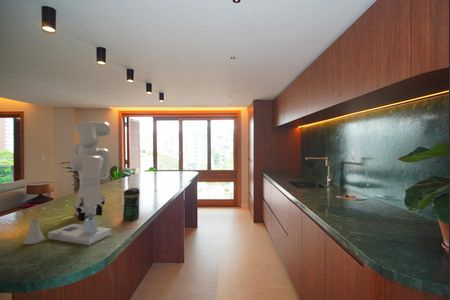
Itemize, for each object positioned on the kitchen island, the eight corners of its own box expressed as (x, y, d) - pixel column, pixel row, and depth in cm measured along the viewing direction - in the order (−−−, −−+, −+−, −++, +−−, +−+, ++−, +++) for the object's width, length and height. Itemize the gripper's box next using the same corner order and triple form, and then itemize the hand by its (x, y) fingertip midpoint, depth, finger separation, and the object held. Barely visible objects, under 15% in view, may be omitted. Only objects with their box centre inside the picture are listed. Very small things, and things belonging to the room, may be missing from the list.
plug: (83, 239, 107) (83, 213, 107) (90, 236, 111) (90, 211, 111) (91, 240, 106) (91, 214, 106) (98, 237, 110) (98, 212, 110)
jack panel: (48, 238, 108) (48, 230, 108) (73, 229, 120) (73, 222, 120) (88, 245, 101) (89, 237, 101) (111, 234, 113) (111, 227, 113)
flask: (31, 238, 107) (31, 217, 107) (48, 238, 108) (48, 217, 108) (19, 245, 100) (19, 222, 100) (36, 244, 101) (37, 222, 101)
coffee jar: (134, 221, 134) (134, 189, 134) (121, 221, 134) (121, 189, 134) (141, 216, 144) (141, 187, 143) (129, 216, 144) (129, 186, 144)
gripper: (99, 179, 118) (99, 212, 118) (67, 184, 101) (67, 222, 101) (111, 180, 116) (111, 214, 116) (81, 184, 99) (80, 224, 99)
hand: (90, 218), depth 108 cm, fingers open, 9 cm apart
